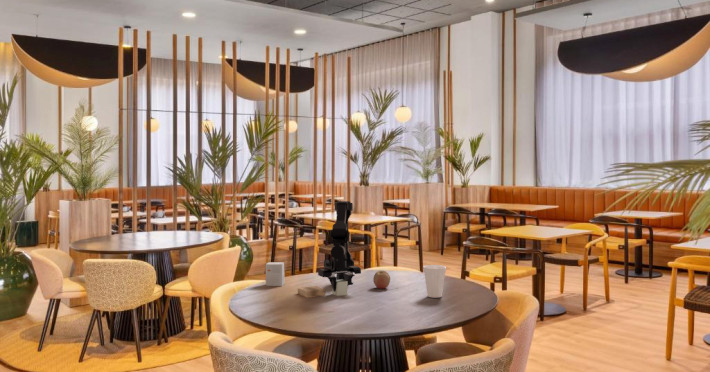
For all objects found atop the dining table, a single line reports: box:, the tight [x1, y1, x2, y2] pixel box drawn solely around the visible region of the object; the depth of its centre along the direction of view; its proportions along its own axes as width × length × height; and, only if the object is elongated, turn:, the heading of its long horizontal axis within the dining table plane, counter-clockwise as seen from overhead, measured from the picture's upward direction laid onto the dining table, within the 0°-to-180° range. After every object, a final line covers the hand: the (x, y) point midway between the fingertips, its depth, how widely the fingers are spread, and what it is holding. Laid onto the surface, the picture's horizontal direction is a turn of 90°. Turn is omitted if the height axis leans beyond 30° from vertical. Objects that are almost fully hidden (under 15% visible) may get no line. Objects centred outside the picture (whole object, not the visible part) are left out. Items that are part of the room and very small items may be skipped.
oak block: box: [297, 285, 326, 299], centre depth 258 cm, size 9×9×3 cm
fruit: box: [372, 270, 391, 290], centre depth 271 cm, size 8×8×8 cm
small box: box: [265, 261, 285, 287], centre depth 280 cm, size 8×6×10 cm
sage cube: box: [331, 279, 349, 297], centre depth 258 cm, size 5×5×6 cm
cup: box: [422, 264, 447, 299], centre depth 253 cm, size 10×10×13 cm
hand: (339, 290), depth 259 cm, fingers closed on sage cube, 5 cm apart
